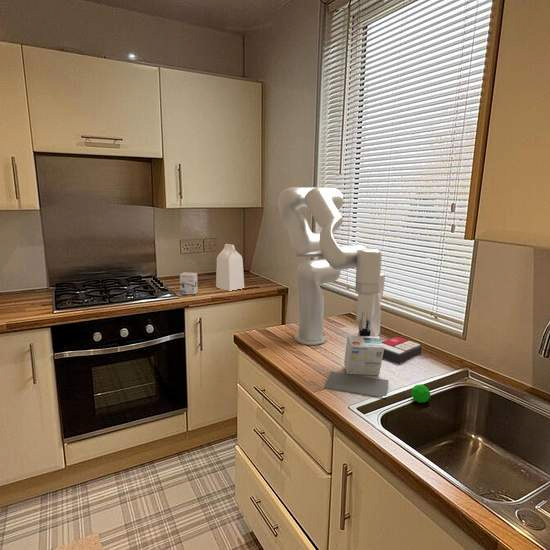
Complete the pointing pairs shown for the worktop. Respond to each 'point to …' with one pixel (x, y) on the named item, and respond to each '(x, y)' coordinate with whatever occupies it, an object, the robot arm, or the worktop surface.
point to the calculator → (400, 350)
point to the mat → (357, 384)
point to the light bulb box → (363, 355)
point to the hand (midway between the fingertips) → (364, 341)
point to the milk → (229, 269)
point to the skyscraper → (376, 310)
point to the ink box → (188, 283)
